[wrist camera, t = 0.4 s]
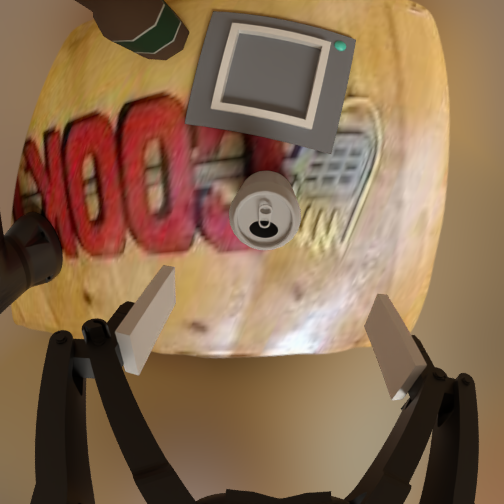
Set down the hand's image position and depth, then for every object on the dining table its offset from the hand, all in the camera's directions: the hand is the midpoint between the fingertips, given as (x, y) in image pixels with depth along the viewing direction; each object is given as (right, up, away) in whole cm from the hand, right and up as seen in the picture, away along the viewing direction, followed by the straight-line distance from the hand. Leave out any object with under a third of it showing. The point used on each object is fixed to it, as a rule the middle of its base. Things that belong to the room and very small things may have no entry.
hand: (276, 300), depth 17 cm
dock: (+1, +26, +14) cm, 30 cm away
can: (+1, +11, +21) cm, 24 cm away
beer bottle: (-14, +34, +12) cm, 38 cm away
